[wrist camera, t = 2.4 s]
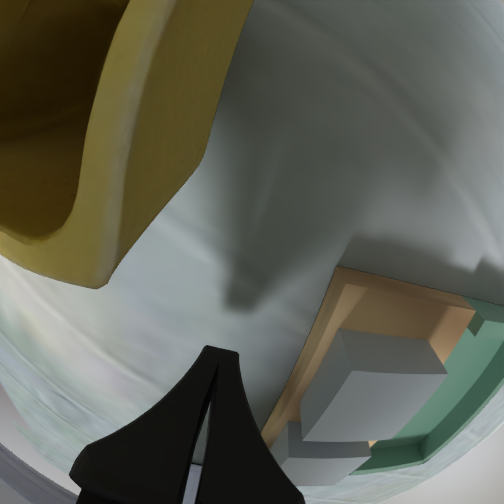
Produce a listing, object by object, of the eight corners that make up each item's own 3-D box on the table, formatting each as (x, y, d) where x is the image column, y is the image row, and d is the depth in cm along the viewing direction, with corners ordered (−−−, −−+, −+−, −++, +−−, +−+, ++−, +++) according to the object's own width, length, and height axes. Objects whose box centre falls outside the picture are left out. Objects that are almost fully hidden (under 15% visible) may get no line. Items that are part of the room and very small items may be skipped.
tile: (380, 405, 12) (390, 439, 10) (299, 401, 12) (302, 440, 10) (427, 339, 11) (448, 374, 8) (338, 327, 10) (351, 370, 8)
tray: (417, 444, 17) (424, 463, 15) (345, 452, 17) (348, 475, 15) (521, 311, 12) (539, 328, 9) (461, 295, 11) (484, 320, 9)
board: (345, 452, 17) (347, 466, 16) (252, 447, 17) (251, 463, 16) (461, 295, 11) (475, 310, 10) (336, 265, 11) (345, 283, 10)
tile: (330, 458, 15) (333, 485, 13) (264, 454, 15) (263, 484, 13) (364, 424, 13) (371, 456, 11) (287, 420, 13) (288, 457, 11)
